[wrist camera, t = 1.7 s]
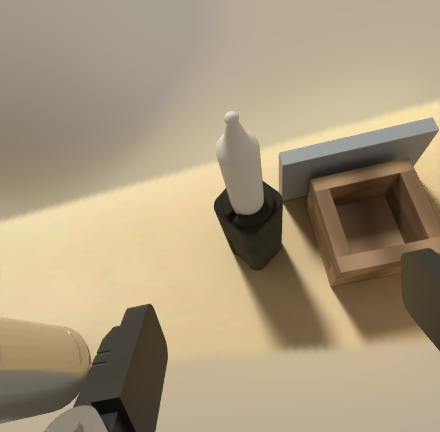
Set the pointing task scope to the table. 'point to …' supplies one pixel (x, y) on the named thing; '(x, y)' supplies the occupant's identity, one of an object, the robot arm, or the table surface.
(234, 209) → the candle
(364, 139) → the backstop wall
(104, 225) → the table surface
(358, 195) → the socket block
